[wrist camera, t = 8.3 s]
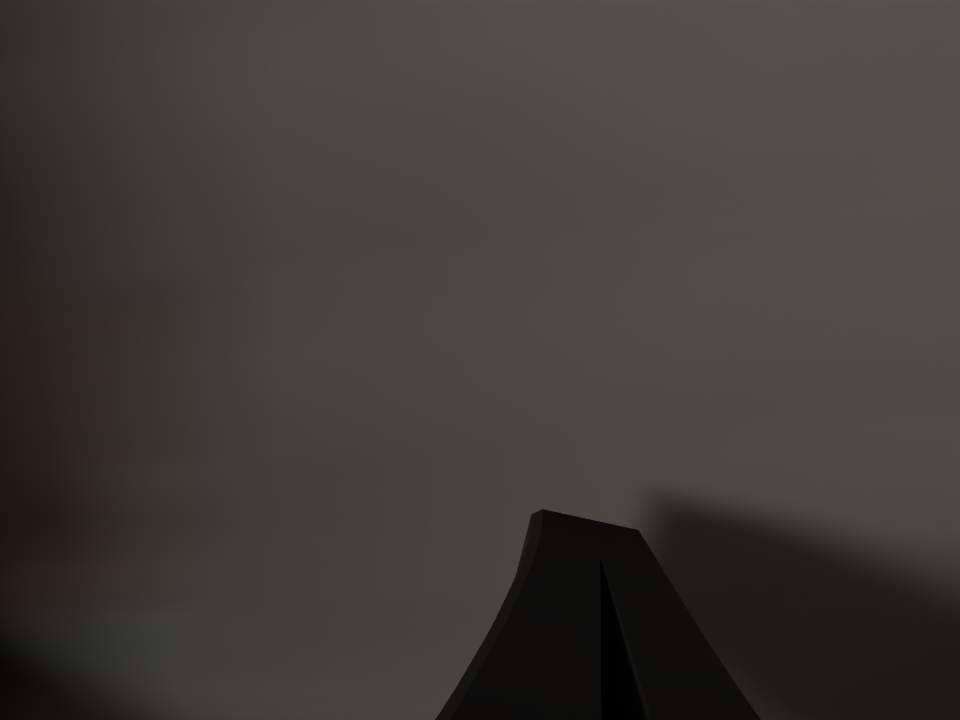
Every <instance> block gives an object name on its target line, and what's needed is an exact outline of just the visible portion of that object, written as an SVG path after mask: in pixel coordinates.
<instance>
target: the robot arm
mask: <svg viewBox="0 0 960 720" xmlns="http://www.w3.org/2000/svg"><path fill="white" fill-rule="evenodd" d="M436 720H761V719H760V718H759V717H758V715H757V714H756V713H755V711H754V710H753V708H752V707H751V705H750V704H749V703H748V701H747V700H746V698H745V697H744V695H743V694H742V693H741V691H740V690H739V688H738V687H737V685H736V684H735V682H734V681H733V679H732V678H731V676H730V675H729V673H728V672H727V670H726V669H725V667H724V666H723V664H722V663H721V661H720V660H719V658H718V657H717V655H716V654H715V652H714V651H713V649H712V648H711V646H710V645H709V643H708V642H707V640H706V638H705V637H704V635H703V634H702V632H701V631H700V629H699V628H698V626H697V624H696V623H695V621H694V620H693V618H692V616H691V615H690V613H689V612H688V610H687V608H686V607H685V605H684V604H683V602H682V600H681V599H680V597H679V595H678V594H677V592H676V591H675V589H674V587H673V586H672V584H671V582H670V581H669V579H668V577H667V576H666V574H665V573H664V571H663V569H662V568H661V566H660V564H659V563H658V561H657V559H656V558H655V556H654V554H653V553H652V551H651V549H650V548H649V546H648V545H647V543H646V541H645V540H644V538H643V537H642V535H641V533H640V532H639V530H636V529H631V528H626V527H622V526H617V525H613V524H608V523H603V522H599V521H594V520H590V519H585V518H580V517H576V516H571V515H567V514H562V513H557V512H553V511H548V510H543V509H542V510H540V511H538V512H536V513H534V514H532V515H531V518H530V522H529V526H528V530H527V534H526V538H525V542H524V546H523V550H522V554H521V558H520V562H519V566H518V570H517V574H516V577H515V579H514V582H513V584H512V586H511V588H510V590H509V592H508V594H507V596H506V598H505V600H504V602H503V604H502V607H501V609H500V611H499V613H498V615H497V617H496V619H495V621H494V623H493V625H492V627H491V629H490V631H489V632H488V634H487V636H486V638H485V639H484V641H483V643H482V644H481V646H480V648H479V650H478V651H477V653H476V655H475V656H474V658H473V660H472V662H471V663H470V665H469V667H468V668H467V670H466V672H465V674H464V675H463V677H462V679H461V680H460V682H459V684H458V685H457V687H456V689H455V690H454V692H453V693H452V695H451V697H450V698H449V700H448V701H447V703H446V704H445V706H444V707H443V709H442V710H441V712H440V714H439V715H438V717H437V718H436Z"/></svg>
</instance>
